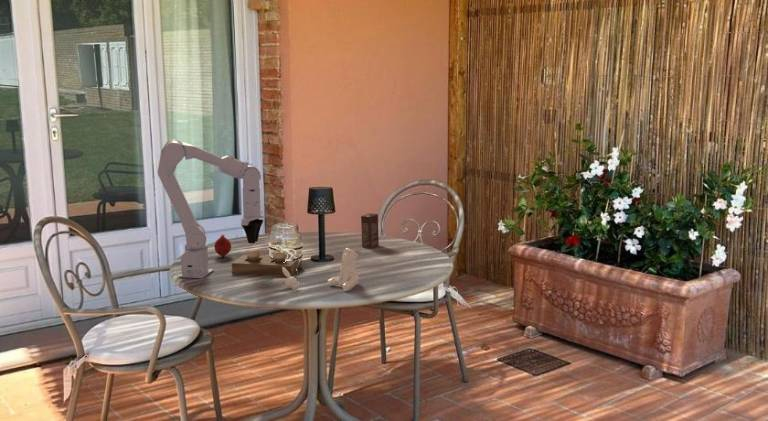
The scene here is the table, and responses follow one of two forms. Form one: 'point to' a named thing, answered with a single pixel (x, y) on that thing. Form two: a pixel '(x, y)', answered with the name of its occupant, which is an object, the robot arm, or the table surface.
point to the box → (369, 230)
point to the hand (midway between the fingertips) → (253, 242)
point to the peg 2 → (278, 257)
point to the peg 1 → (253, 255)
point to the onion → (222, 246)
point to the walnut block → (263, 266)
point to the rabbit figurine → (287, 280)
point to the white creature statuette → (346, 272)
